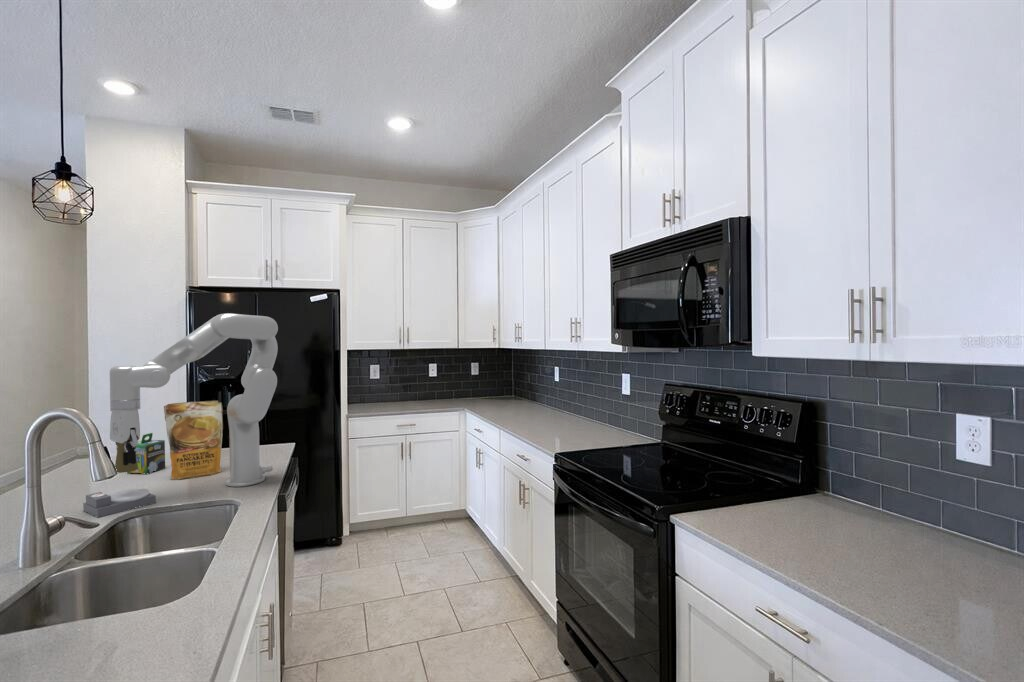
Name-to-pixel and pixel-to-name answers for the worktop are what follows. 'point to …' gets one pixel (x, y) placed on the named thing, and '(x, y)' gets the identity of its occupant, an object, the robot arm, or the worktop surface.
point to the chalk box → (150, 455)
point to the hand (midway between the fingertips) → (126, 462)
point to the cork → (119, 460)
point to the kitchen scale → (117, 501)
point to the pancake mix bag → (194, 438)
